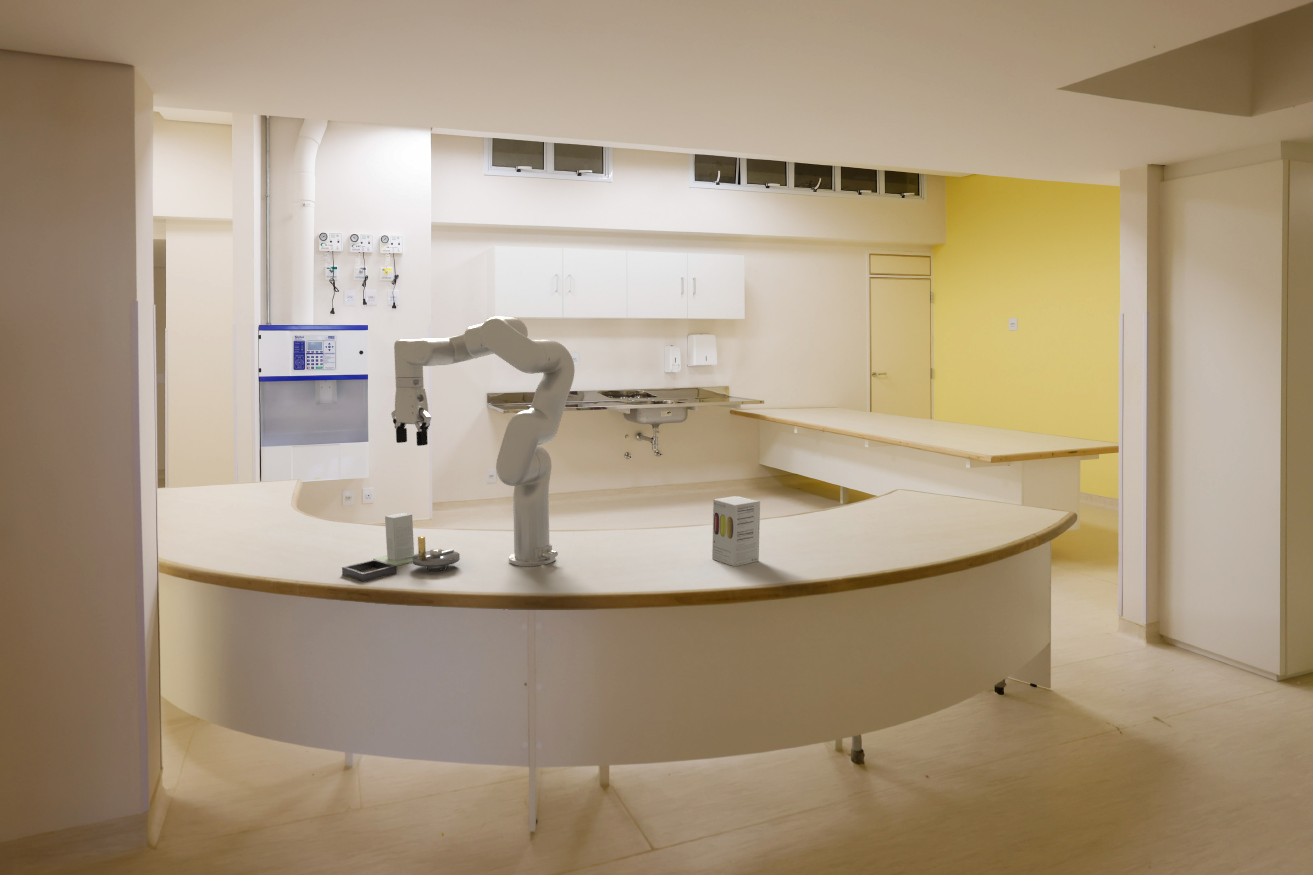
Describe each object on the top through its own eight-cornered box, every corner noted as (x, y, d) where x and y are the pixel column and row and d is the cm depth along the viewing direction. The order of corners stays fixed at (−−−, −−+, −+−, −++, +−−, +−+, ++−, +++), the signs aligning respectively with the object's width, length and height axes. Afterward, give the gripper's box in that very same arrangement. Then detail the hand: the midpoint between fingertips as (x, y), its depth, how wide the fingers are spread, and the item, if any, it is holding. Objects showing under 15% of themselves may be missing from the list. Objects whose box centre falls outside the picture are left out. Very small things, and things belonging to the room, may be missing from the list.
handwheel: (438, 552, 225) (438, 526, 224) (469, 558, 218) (468, 532, 217) (402, 561, 215) (401, 535, 214) (433, 569, 209) (432, 541, 208)
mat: (426, 558, 226) (426, 557, 226) (394, 566, 219) (394, 565, 219) (404, 552, 233) (404, 551, 233) (373, 560, 225) (373, 558, 225)
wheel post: (450, 567, 217) (449, 560, 217) (434, 572, 214) (434, 564, 213) (438, 564, 221) (438, 557, 220) (422, 568, 217) (422, 561, 216)
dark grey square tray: (396, 573, 213) (396, 565, 212) (363, 581, 205) (362, 574, 205) (375, 566, 219) (375, 559, 218) (342, 574, 211) (342, 567, 211)
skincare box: (405, 554, 229) (403, 512, 228) (414, 556, 227) (413, 514, 225) (386, 558, 225) (384, 515, 223) (395, 561, 222) (393, 518, 220)
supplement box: (711, 559, 226) (711, 498, 224) (735, 553, 231) (736, 494, 229) (734, 567, 218) (735, 504, 216) (760, 561, 224) (761, 500, 222)
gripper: (439, 384, 229) (441, 445, 231) (403, 381, 240) (405, 440, 242) (416, 385, 223) (418, 447, 226) (380, 383, 234) (382, 442, 236)
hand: (411, 443), depth 234 cm, fingers open, 9 cm apart
